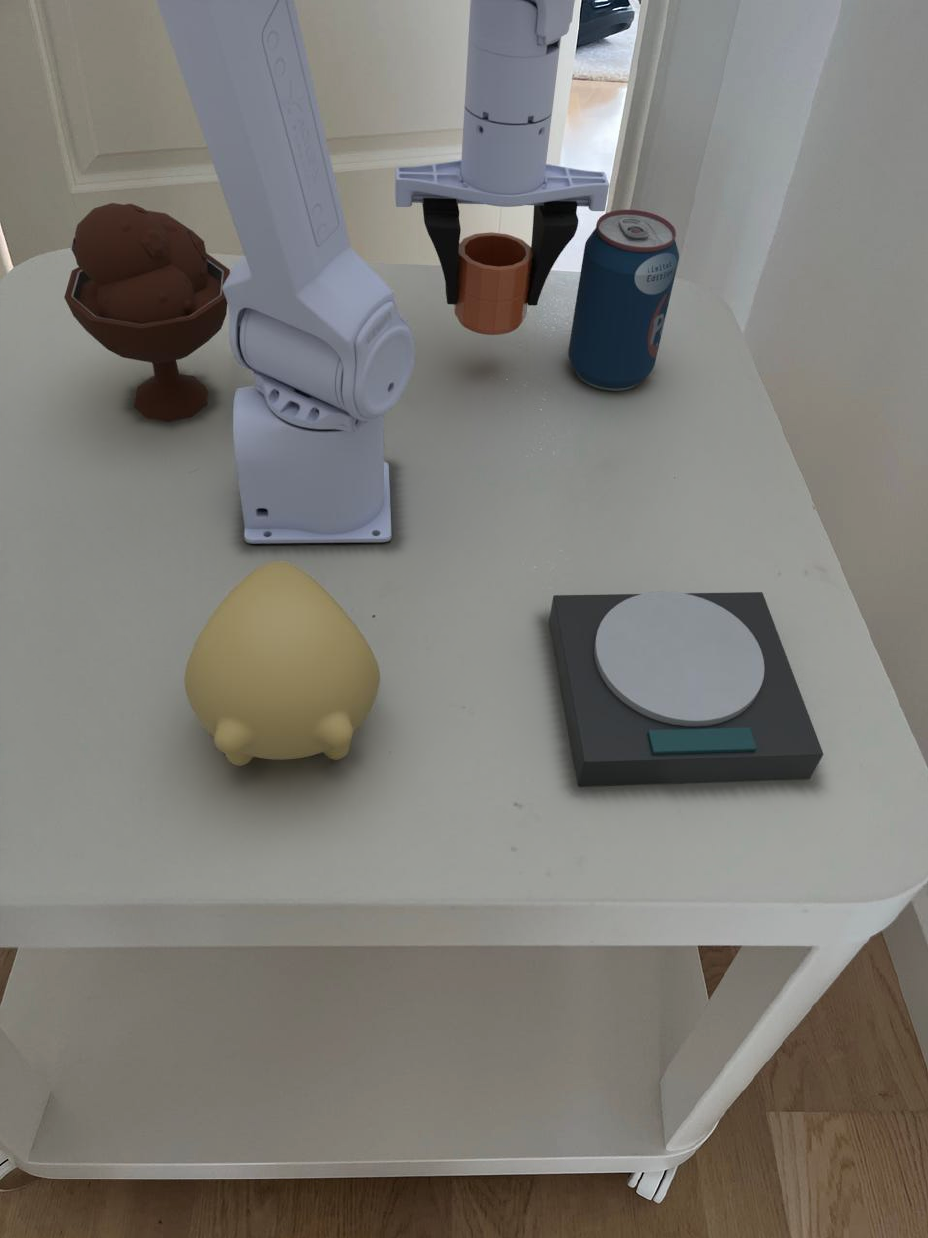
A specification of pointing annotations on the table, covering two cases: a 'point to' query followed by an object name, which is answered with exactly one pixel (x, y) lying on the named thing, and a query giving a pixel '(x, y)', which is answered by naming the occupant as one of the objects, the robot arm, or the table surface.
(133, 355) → the ice cream bowl
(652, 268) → the soda can
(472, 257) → the terracotta cup
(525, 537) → the table surface
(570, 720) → the scale
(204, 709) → the toy pig
